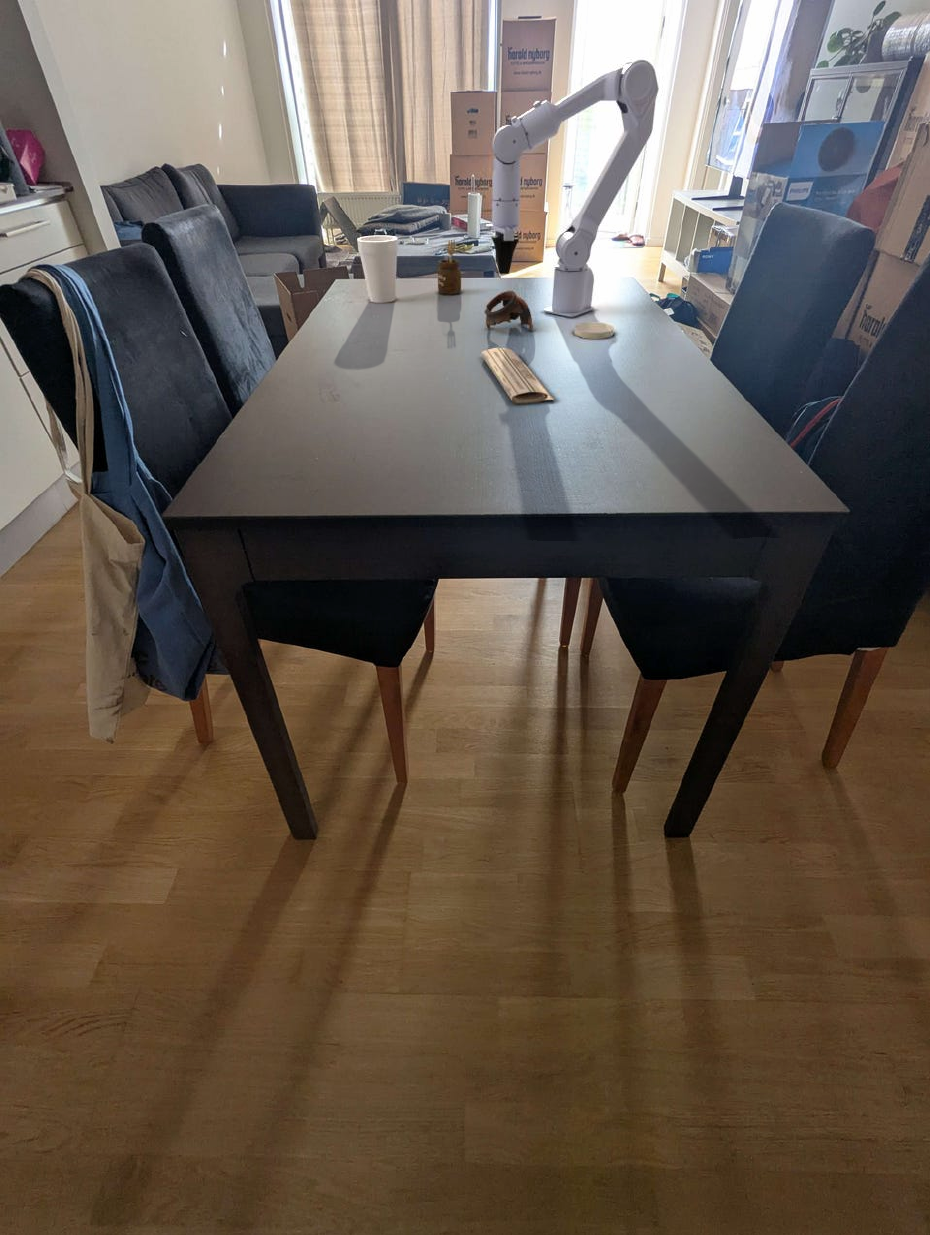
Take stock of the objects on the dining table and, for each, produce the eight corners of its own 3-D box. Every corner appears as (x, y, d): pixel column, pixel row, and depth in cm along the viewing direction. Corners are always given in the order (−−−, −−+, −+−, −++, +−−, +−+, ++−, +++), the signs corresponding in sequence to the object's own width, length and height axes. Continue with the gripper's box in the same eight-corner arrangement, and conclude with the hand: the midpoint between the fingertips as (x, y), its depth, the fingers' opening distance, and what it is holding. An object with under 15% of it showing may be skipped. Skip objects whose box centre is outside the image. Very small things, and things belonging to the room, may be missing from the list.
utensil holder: (457, 288, 160) (456, 235, 152) (464, 294, 155) (463, 239, 147) (435, 290, 159) (433, 236, 151) (441, 296, 154) (439, 240, 146)
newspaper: (481, 358, 116) (481, 348, 115) (517, 356, 117) (518, 346, 116) (511, 404, 98) (512, 393, 97) (554, 400, 99) (554, 389, 98)
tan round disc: (587, 325, 132) (588, 319, 131) (620, 332, 128) (621, 326, 127) (566, 334, 127) (567, 328, 127) (599, 341, 123) (600, 335, 123)
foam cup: (409, 298, 153) (405, 237, 144) (386, 306, 147) (380, 243, 138) (379, 293, 157) (373, 234, 148) (355, 301, 151) (348, 240, 142)
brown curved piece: (536, 337, 127) (520, 302, 122) (495, 356, 131) (478, 323, 126) (536, 307, 134) (520, 272, 128) (497, 326, 138) (481, 293, 132)
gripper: (483, 196, 132) (483, 267, 141) (490, 204, 121) (489, 280, 130) (516, 195, 133) (513, 266, 142) (525, 203, 122) (521, 280, 130)
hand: (503, 273), depth 136 cm, fingers closed
